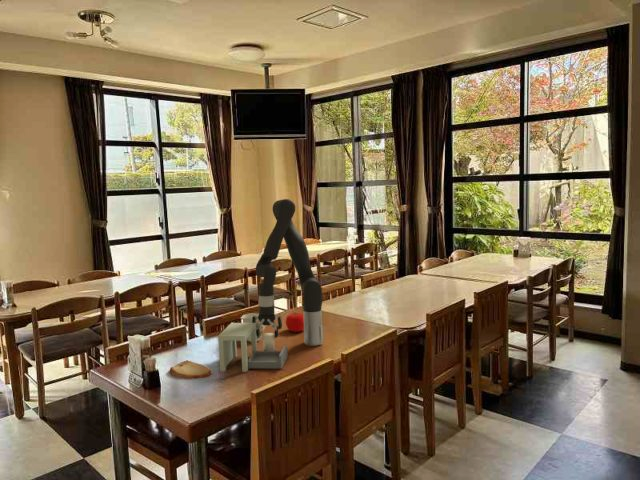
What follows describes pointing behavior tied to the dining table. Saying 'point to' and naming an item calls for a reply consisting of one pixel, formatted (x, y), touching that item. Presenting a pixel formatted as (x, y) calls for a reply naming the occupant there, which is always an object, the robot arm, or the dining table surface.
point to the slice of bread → (190, 370)
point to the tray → (268, 359)
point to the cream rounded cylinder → (268, 342)
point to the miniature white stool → (229, 343)
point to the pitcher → (248, 319)
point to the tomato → (295, 322)
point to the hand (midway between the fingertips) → (267, 337)
